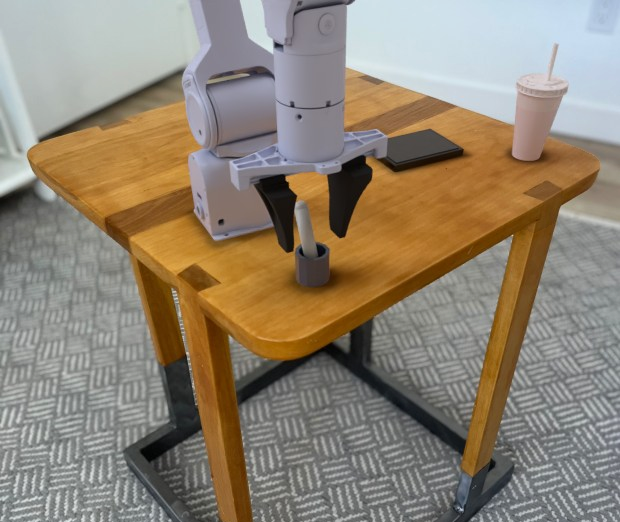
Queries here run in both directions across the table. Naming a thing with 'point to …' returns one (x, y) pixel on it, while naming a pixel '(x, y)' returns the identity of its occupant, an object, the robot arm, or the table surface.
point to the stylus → (305, 230)
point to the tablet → (418, 150)
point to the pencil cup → (313, 266)
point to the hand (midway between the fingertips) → (312, 240)
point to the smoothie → (536, 110)
